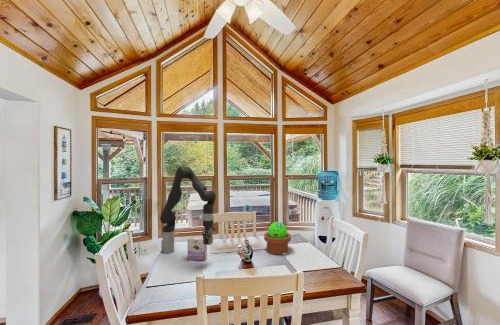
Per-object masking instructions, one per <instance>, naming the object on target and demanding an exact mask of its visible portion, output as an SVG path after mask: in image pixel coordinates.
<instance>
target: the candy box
mask: <svg viewBox="0 0 500 325" xmlns="http://www.w3.org/2000/svg"><path fill="white" fill-rule="evenodd" d="M207 259H208V245H205V244H203V236H202V237H200V236H190V237H189V238H187V261H195V262H196V261H198V262H206V260H207Z"/></svg>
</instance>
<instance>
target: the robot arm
mask: <svg viewBox="0 0 500 325" xmlns="http://www.w3.org/2000/svg"><path fill="white" fill-rule="evenodd" d="M185 179H188V180H190V181H191V186H192V188H193V189H194V190H195V192H197V193H198V195H199V197H200V200H202V201H203V202H207V203H205V204H204V205H203V206H202V210H203V211H202V227H204V230H202V232H201V233H202V237H203V239H205V244H208V236H209V235H211V236H213V232H214V205H215V201H216V193H215V191H214V190H207V186H206V185H205V184H204V183H203V182H202V181H200V178H198V177H197V175H196V173H195V172H194V170H192V168H191V167H189V166H179V167H177V169H176V171H175V174H174V179H173V183H172V185H171V188H170V191H169V193H168V196H167V200H166V203H165V205H164V207H163V210H162V211H161V213H160V215H159V216H160V217H159V219H160V223H161V224H165V225H164V226H163V227H162V240H161V247H160V248H161V253H163V254H172V253H174V252H175V228H176V213H175V212H174V211H173V209H174V208H175V206H176V205H177V204H179V202H180V200H181V197H182V194H183V191H182V186H181V183H182V180H185Z"/></svg>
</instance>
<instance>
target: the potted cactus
mask: <svg viewBox="0 0 500 325" xmlns="http://www.w3.org/2000/svg"><path fill="white" fill-rule="evenodd" d="M263 235H264V237H263V239H264V241H265V242H266V251H268V252H267V253H269V254H271V253H272V254H271V255H275V254H283V253H286V252H287V251H289V243H290V242H291V241H292V235H291V234H290V233H289V232H288V231H287V227H286V225H285V224H284V223H283V222H280V221H273V222H271V224H270V225H269V226H268V230H267V232H265V233H264V234H263ZM287 253H288V252H287ZM287 253H286V254H287ZM283 255H284V254H283Z"/></svg>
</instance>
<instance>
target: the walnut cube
mask: <svg viewBox="0 0 500 325" xmlns="http://www.w3.org/2000/svg"><path fill="white" fill-rule="evenodd" d="M213 237H214V236H213V235H212V236H211V235H209V236H208V244H205V239H203V244H205V245H207V246H210V245H212V244H213V242H214V241H213V240H214V239H213Z"/></svg>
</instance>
